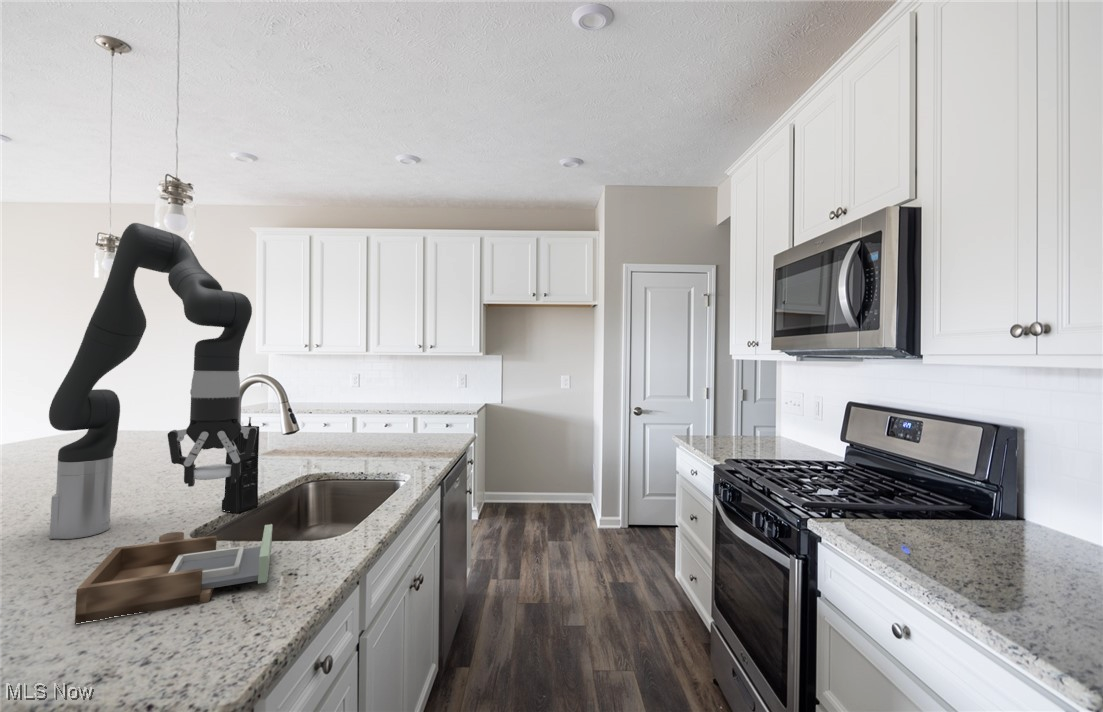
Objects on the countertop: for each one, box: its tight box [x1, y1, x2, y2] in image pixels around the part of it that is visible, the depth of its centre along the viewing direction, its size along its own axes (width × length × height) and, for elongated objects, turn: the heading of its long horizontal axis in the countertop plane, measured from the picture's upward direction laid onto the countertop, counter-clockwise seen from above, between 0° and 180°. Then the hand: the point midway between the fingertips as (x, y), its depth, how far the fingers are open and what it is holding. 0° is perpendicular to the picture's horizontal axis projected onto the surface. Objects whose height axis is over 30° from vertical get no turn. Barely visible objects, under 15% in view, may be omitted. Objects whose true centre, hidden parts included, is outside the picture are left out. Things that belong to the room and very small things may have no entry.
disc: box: [193, 463, 231, 481], centre depth 89 cm, size 6×6×2 cm
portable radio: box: [221, 416, 260, 514], centre depth 129 cm, size 8×6×25 cm
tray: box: [168, 523, 273, 590], centre depth 89 cm, size 16×18×5 cm
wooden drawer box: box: [74, 535, 218, 625], centre depth 85 cm, size 17×18×6 cm
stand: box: [158, 531, 185, 542], centre depth 96 cm, size 4×4×5 cm
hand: (212, 483), depth 89 cm, fingers closed on disc, 6 cm apart
